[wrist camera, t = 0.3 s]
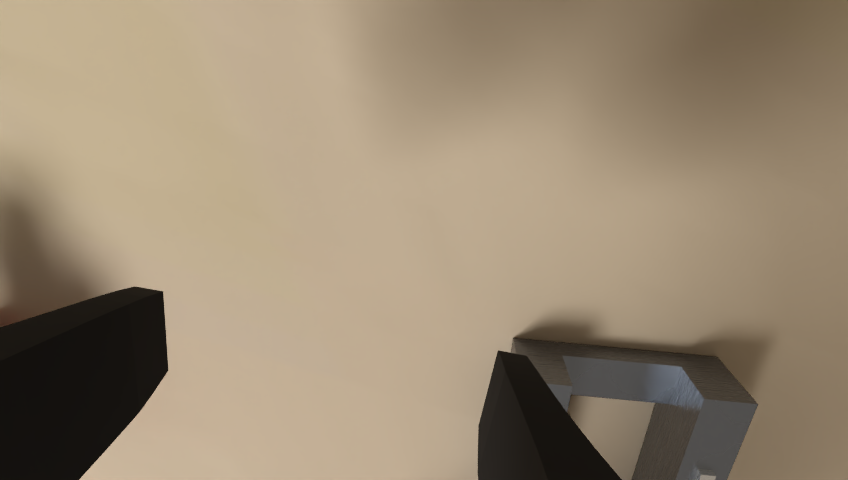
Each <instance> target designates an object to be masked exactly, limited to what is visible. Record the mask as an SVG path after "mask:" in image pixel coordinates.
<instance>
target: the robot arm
mask: <svg viewBox="0 0 848 480" xmlns="http://www.w3.org/2000/svg"><path fill="white" fill-rule="evenodd" d="M167 371H168V360H167V345H166V330H165V315H164V300H163V291H157V290H151V289H146V288H140V287H131V288H127V289H123V290H119V291H115V292H112V293H108V294H105V295H101V296H98V297H95V298H92V299H88V300H85V301H82V302H79V303H76V304H73V305H70V306H67V307H63V308H60V309H57V310H54V311H51V312H48V313H45V314H42V315H39V316H36V317H32V318H29V319H26V320H23V321H20V322H17V323H14V324H11V325H7V326H4V327H1V328H0V480H79V479H80V478H81V477H82V476H83V475H84V473H85V472H86V471H87V470H88V469H89V468H90V467H91V466H92V465H93V464H94V462H95V461H96V460H97V459H98V458H99V457H100V456H101V455H102V454H103V453H104V451H105V450H106V449H107V448H108V447H109V446H110V445H111V444H112V443H113V441H114V440H115V439H116V438H117V437H118V436H119V435H120V434H121V432H122V431H123V430H124V429H125V428H126V427H127V426H128V425H129V423H130V422H131V421H132V420H133V419H134V418H135V416H136V415H137V414H138V413H139V412H140V410H141V409H142V408H143V406H144V405H145V404H146V402H147V401H148V399H149V398H150V397H151V395H152V394H153V392H154V391H155V389H156V388H157V386H158V385H159V383H160V382H161V380H162V379H163V377H164V376H165V374H166V373H167ZM478 480H622V479H621V478H620V477H619V476H618V475H617V474H616V473H615V471H614V470H613V469H612V468H611V467H610V465H609V464H608V463H607V462H606V461H605V460H604V458H603V457H602V456H601V455H600V454H599V452H598V451H597V450H596V449H595V448H594V446H593V445H592V444H591V443H590V441H589V440H588V439H587V438H586V436H585V435H584V434H583V433H582V431H581V430H580V429H579V428H578V426H577V425H576V424H575V422H574V421H573V420H572V418H571V417H570V416H569V414H568V413H567V412H566V410H565V409H564V408H563V406H562V405H561V403H560V402H559V401H558V399H557V398H556V397H555V395H554V394H553V392H552V391H551V389H550V388H549V387H548V385H547V384H546V382H545V381H544V379H543V378H542V377H541V375H540V374H539V372H538V371H537V369H536V368H535V366H534V365H533V364H532V362H531V361H530V359H529V358H528V357H527V356H526V355H520V354H514V353H509V352H503V351H498V353H497V357H496V361H495V364H494V368H493V372H492V376H491V380H490V384H489V388H488V392H487V396H486V399H485V403H484V407H483V411H482V415H481V419H480V423H479V434H478Z"/></svg>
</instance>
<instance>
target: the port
mask: <svg viewBox="0 0 848 480" xmlns="http://www.w3.org/2000/svg"><path fill="white" fill-rule="evenodd" d="M511 353H514V354H520V355H526V356H527V357H528V358H529V359H530V361H531V362H532V364H533V365H534V366H535V368H536V369H537V371H538V372H539V374H540V375H541V377H542V378H543V379H544V381H545V382H546V384H547V385H548V387H549V388H550V389H551V391H552V392H553V394H554V395H555V397H556V398H557V399H558V401H559V402H560V403H561V405H562V406H563V408H564V409H565V410H566V412H567V410H568V406H569V401H570V397H571V395H581V396H592V397H602V398H612V399H622V400H632V401H643V402H653V403H656V404H655V407H654V410H653V413H652V417H651V420H650V423H649V426H648V430H647V433H646V436H645V439H644V442H643V446H642V449H641V452H640V455H639V459H638V462H637V465H636V468H635V472H634V475H633V478H632V480H727V478H728V476H729V473H730V471H731V469H732V466H733V464H734V461H735V459H736V456H737V454H738V452H739V449H740V447H741V444H742V442H743V439H744V437H745V435H746V432H747V430H748V427H749V425H750V422H751V420H752V418H753V415H754V413H755V410H756V408H757V406H758V404H757V403H756V401H755V400H754V399H753V398H752V397H751V396H750V394H749V393H748V392H747V391H746V390H745V389H744V387H743V386H742V385H741V384H740V383H739V382H738V380H737V379H736V378H735V377H734V376H733V375H732V374H731V372H730V371H729V370H728V369H727V368H726V367H725V365H724V364H723V363H722V362H721V361H720V360H719V358H718V357H712V356H701V355H690V354H679V353H668V352H658V351H647V350H636V349H625V348H614V347H603V346H593V345H582V344H571V343H560V342H549V341H539V340H528V339H517V338H513V343H512V349H511Z"/></svg>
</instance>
